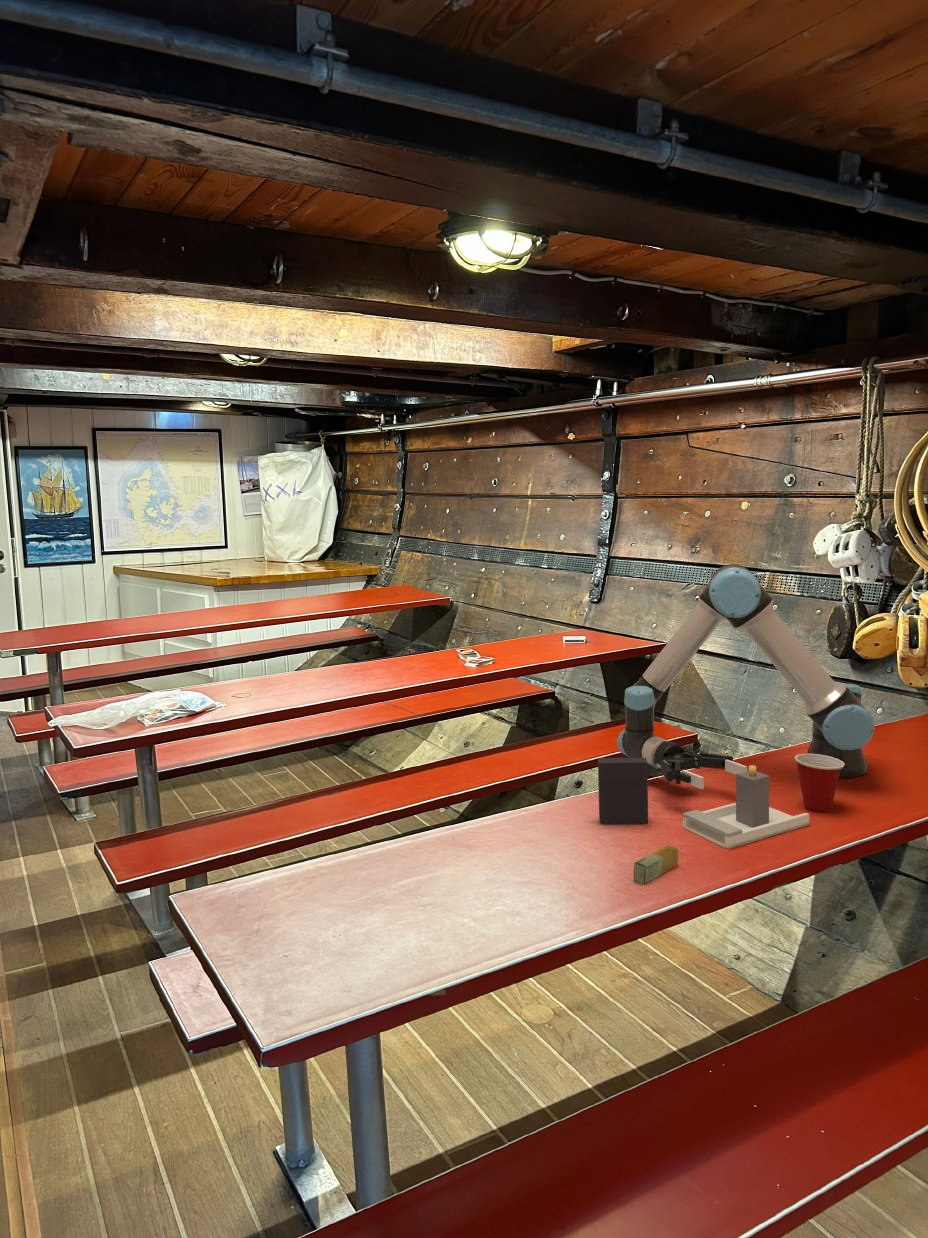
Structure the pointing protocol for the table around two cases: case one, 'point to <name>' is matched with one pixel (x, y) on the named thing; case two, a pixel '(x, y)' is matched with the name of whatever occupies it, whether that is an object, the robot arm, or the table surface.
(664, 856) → the medication box
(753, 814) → the grey bottle with cork
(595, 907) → the table surface
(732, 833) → the tray
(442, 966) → the table surface
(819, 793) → the plastic cup
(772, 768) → the table surface
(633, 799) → the calculator
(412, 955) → the table surface
